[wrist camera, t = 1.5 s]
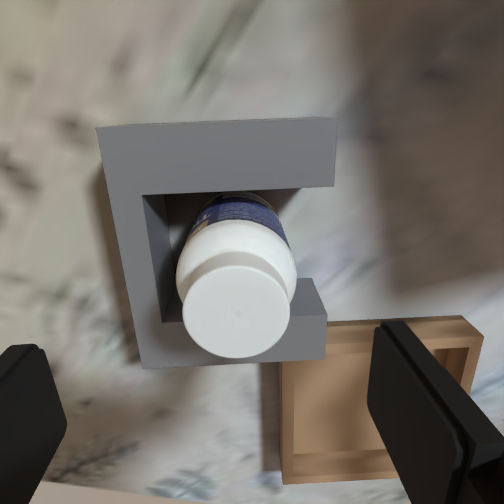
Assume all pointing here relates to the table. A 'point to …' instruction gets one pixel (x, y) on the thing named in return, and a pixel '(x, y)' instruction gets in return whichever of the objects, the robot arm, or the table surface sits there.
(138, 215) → the dock
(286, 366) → the tray
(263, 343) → the pill bottle
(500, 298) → the table surface
